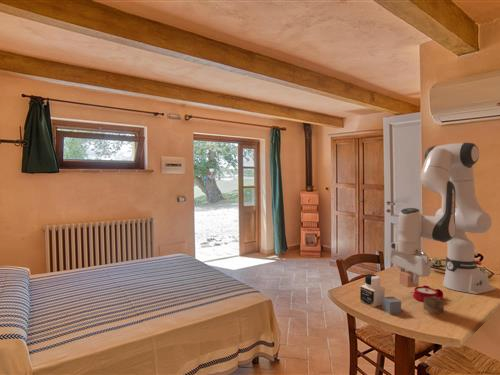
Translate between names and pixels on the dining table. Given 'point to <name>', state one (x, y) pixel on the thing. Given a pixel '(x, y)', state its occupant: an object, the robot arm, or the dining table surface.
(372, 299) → the medicine bottle
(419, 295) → the alarm clock
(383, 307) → the slate-grey block
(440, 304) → the walnut block
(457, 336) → the dining table surface
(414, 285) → the terracotta block
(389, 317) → the dining table surface
